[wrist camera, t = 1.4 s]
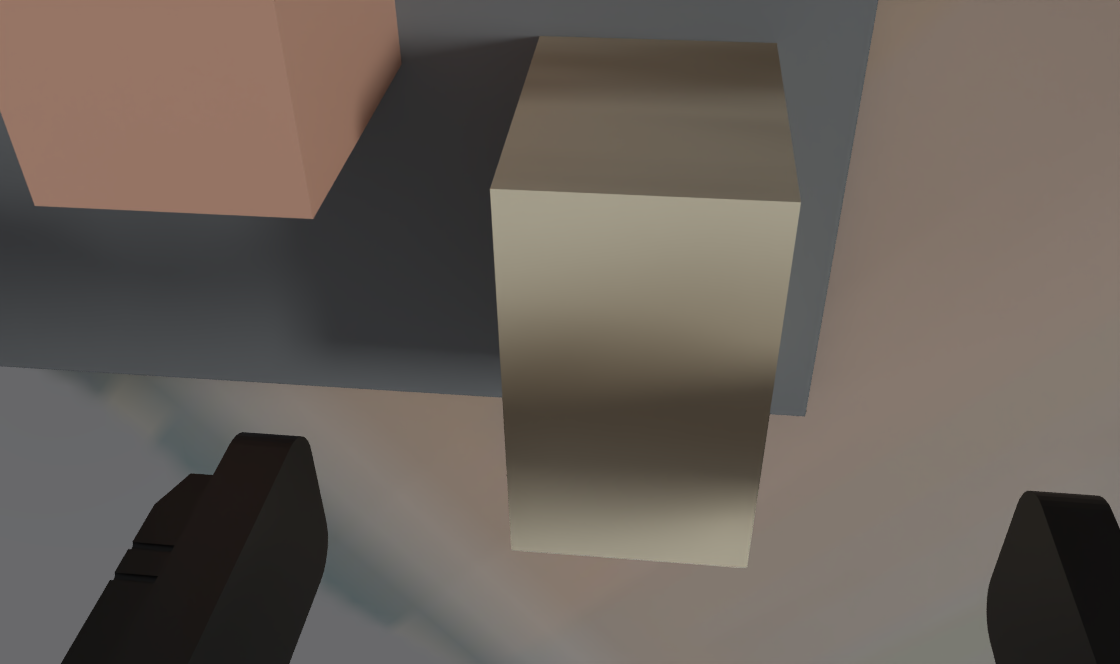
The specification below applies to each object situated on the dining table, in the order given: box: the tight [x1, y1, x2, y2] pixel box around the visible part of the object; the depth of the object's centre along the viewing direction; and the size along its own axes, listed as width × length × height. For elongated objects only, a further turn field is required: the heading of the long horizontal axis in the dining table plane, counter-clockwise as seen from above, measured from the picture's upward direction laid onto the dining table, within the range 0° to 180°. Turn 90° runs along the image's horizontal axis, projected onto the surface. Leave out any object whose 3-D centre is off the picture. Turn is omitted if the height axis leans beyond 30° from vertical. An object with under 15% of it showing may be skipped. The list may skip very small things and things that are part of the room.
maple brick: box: [490, 36, 801, 568], centre depth 15 cm, size 6×3×4 cm, turn 1°
